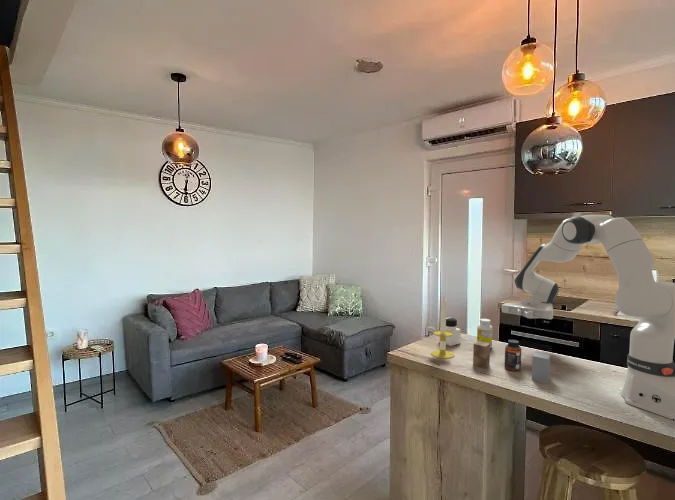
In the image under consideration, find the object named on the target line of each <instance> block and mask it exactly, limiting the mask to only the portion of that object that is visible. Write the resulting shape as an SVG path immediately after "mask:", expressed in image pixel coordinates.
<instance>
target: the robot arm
mask: <svg viewBox="0 0 675 500" xmlns="http://www.w3.org/2000/svg"><path fill="white" fill-rule="evenodd" d="M584 244H587V245H589V244H593V245H594V244H596V245H597V244H602V246H603V247H604V250H605V252H606V254H607V256H608V257H609V260H610V261H611V264H612V266H613V268H614V270H615V273H616V276H617V278H618V279H617V280H618V289H617V291H616V292H615V295H614V304H615V306H616V309H618V311H619V312H620V313H621V314H623V315H624V316H627V317H633V318H636V319H637V318H638V319H639V318H640V319H639V320H638V323H637V324H636V325H635V326H634V327H633V328H632V330H631V331H630V335H629V337H630V338H629V353H627V358H626V367H627V371H626V377H625V381H624V384H623V388H622V389H621V392H620V395H621V397H622V398H624V402H625V403H626V404H628V405H630V406H633V407H636V408H640V409H643V410H644V411H647V412H651V413H654V414H656V415H659V416H662V417H664V418H667V419H670V420H673V419H674V420H673V421H675V362H674V360H673V359H674V358H673V356H674V345H675V282H671V281H670V282H669V281H663V282H662V281H661V282H660V281H659V282H656V281H655V278H654V274H653V268H654V267H655V258H654V256H653V255H652V253H651V251H650V249H649V247H648V245H646V242H645V241H644V238H642V236H641V234H640V233H639V232H638V230H637V229H636V228H635V226H634V225H633V224H632V223H631V222H630V221H629V220H628V219H627V218H624V217H621V216H619V215H615V214H610V213H608V214H607V213H605V214H585V215H580V216H579V215H578V216H572V217H569V218H565V219H564V220H563V221H562V222H561V224H559V226H558V227H557V229H556V230H555V232H554V234H553V236H552V238H551V240H550V241H549V242H548V243H542V244H541V245H539V246H538V248H537V249H536V250H535V251H534V253H533V254H532V255H531V257H530V258H529V260H528V261H527V262H526V264H525V265H524V266H523V268H522V269H521V270H520V271H519V272H518V273H517V274H516V275H515V278H514V284H515V287H516V288H517V289H518V290H521V291H524V292H526V293H528V294H529V295H531V296H528V297H526V298H525V299H523V300H522V301H521V302H520V303H516V302H514V303H513V302H505V303H503V304H501V313H504V314H509V315H510V314H512V315H517V316H522V317H524V318H527V319H530V320H531V319H545V320H552V319H554V307H553V303H554V301H556V298H557V296H558V295H559V291H560V290H559V285H558V283H557V282H555V281H553V280H551V279H549V278H547V277H545V276H543V275H540V274H538V273H536V272H535V271H534V269H536V267H537V266H538V264H539V263H540V262H544V261H545V262H554V263H567V262H570V261H573V259H575V258H576V257H577V255H578V254H579V252H580V250H581V249H582V246H583V245H584Z"/></svg>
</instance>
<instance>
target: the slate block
mask: <svg viewBox="0 0 675 500" xmlns="http://www.w3.org/2000/svg"><path fill="white" fill-rule="evenodd" d="M551 356H552V355H550V354H547V353H546V354H545V353H540V352H535V353H534V354H533V355H532V362H531V363H532V364H531V366H532V367H531V368H532V369H531V380H533V381H535V382H540V383H541V382H542V383H545V384H547V383H548V382H549V381H550V380H551V379H550V377H551V376H550V374H551V358H552V357H551Z"/></svg>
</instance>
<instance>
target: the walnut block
mask: <svg viewBox="0 0 675 500" xmlns="http://www.w3.org/2000/svg"><path fill="white" fill-rule="evenodd" d="M490 354H491V348H490V343H485V342H480V341H477V340H476V342H474V343H473V353H472V357H473V358H472V359H473V360H472V366H474V367H477V368H482V369H487V368H488V367H490V364H491V363H490V360H491V357H490V356H491V355H490Z"/></svg>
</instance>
